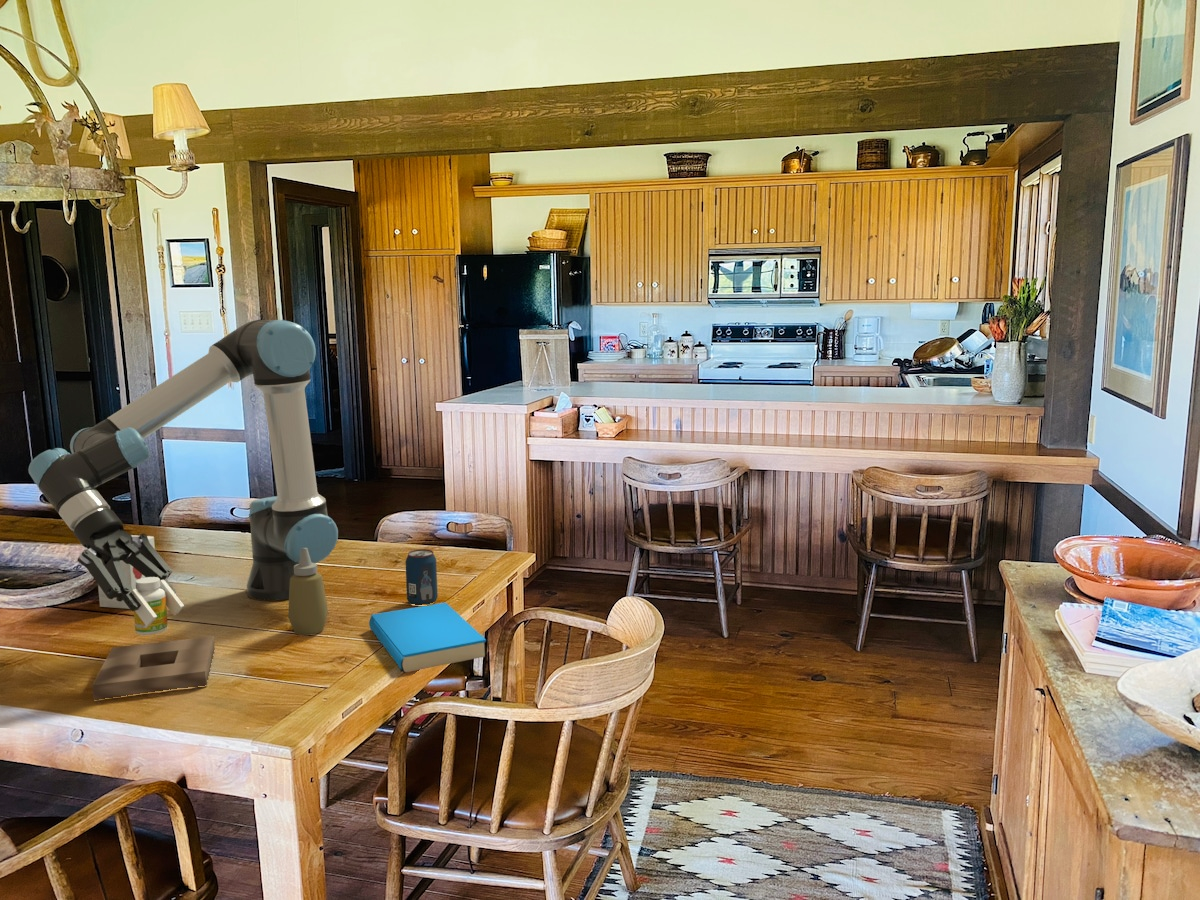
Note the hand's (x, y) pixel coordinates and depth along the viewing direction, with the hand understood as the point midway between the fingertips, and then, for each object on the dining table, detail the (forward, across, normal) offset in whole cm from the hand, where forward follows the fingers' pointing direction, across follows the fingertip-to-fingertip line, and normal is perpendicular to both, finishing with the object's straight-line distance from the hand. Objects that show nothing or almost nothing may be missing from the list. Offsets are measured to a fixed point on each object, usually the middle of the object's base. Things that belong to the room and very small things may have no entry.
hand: (165, 615), depth 162 cm
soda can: (+23, -52, +6) cm, 58 cm away
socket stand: (+6, 0, -11) cm, 12 cm away
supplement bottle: (0, 0, -5) cm, 5 cm away
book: (+34, -32, +16) cm, 49 cm away
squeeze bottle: (+14, -28, -3) cm, 32 cm away
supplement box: (-22, -29, -39) cm, 53 cm away
